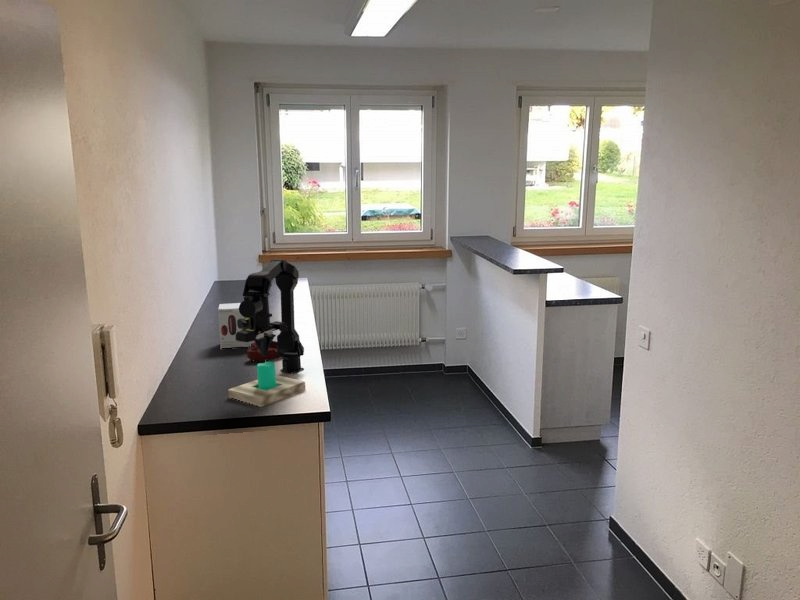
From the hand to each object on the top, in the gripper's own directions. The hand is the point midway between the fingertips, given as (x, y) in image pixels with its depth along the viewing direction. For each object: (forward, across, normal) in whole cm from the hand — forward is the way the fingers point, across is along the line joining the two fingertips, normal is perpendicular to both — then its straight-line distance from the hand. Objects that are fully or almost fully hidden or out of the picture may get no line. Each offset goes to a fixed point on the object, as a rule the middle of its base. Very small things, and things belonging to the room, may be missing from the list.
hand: (263, 355), depth 221 cm
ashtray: (+14, -32, -33) cm, 48 cm away
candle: (+13, +2, +2) cm, 13 cm away
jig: (+13, +2, +2) cm, 13 cm away
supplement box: (+14, -39, -59) cm, 72 cm away
